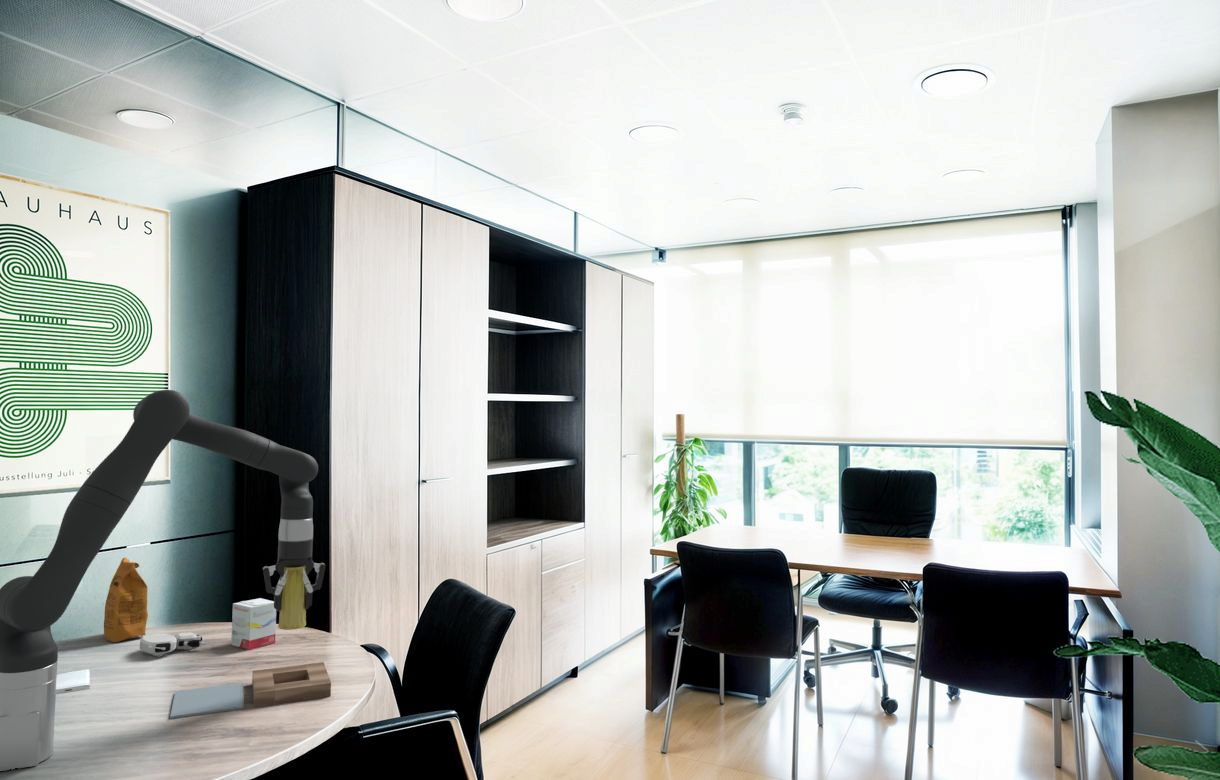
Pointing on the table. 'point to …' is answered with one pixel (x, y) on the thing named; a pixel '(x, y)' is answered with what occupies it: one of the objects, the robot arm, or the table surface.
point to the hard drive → (73, 681)
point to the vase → (293, 600)
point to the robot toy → (169, 642)
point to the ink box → (253, 623)
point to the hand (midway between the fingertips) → (292, 609)
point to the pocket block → (290, 684)
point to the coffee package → (126, 604)
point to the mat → (207, 700)
